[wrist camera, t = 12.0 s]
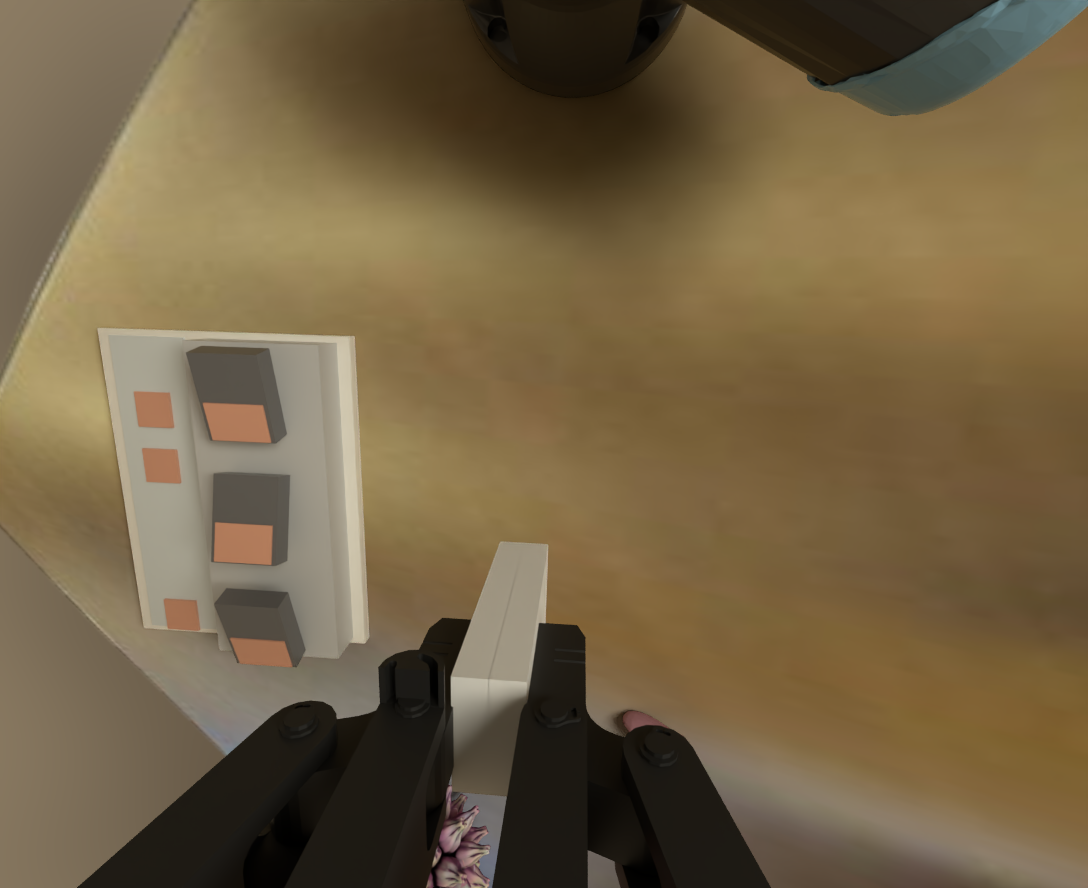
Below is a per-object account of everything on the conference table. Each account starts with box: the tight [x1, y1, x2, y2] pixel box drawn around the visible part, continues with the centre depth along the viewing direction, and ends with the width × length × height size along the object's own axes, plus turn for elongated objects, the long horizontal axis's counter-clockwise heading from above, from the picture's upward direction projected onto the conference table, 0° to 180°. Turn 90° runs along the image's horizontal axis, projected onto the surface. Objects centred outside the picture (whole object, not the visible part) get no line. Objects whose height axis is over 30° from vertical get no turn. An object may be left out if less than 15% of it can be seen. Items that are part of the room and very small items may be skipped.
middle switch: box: [211, 472, 290, 566], centre depth 40 cm, size 6×5×2 cm
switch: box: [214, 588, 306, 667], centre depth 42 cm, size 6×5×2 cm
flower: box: [426, 785, 490, 888], centre depth 46 cm, size 12×12×12 cm
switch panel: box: [97, 327, 369, 659], centre depth 44 cm, size 26×20×4 cm
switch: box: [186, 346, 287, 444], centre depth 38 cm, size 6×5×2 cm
